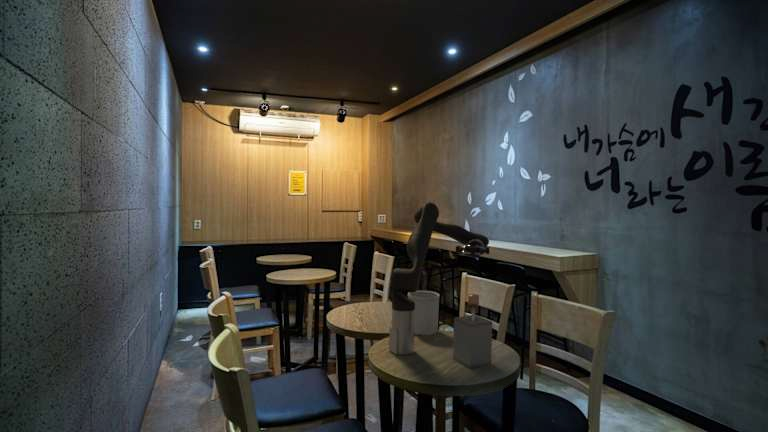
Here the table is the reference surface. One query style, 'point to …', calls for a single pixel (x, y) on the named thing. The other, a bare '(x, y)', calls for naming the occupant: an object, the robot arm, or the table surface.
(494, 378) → the table surface
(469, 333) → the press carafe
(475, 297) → the plunger
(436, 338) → the table surface
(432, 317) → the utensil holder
